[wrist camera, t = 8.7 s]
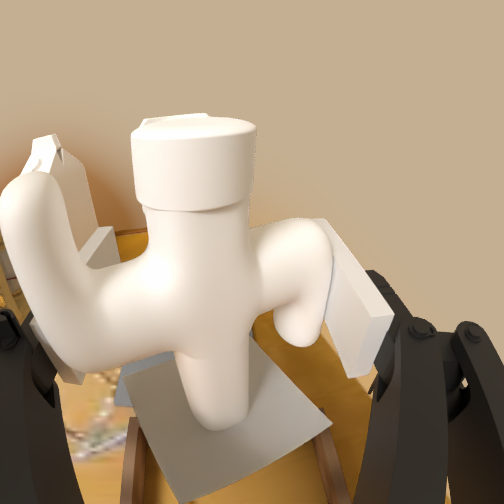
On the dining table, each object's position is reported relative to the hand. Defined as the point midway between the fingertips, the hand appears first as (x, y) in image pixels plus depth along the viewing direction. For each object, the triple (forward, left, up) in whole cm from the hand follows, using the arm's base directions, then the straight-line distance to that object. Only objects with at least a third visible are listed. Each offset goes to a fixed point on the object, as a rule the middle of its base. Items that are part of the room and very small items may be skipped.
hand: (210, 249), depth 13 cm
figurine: (+2, -4, -9) cm, 10 cm away
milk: (-46, +13, -21) cm, 52 cm away
